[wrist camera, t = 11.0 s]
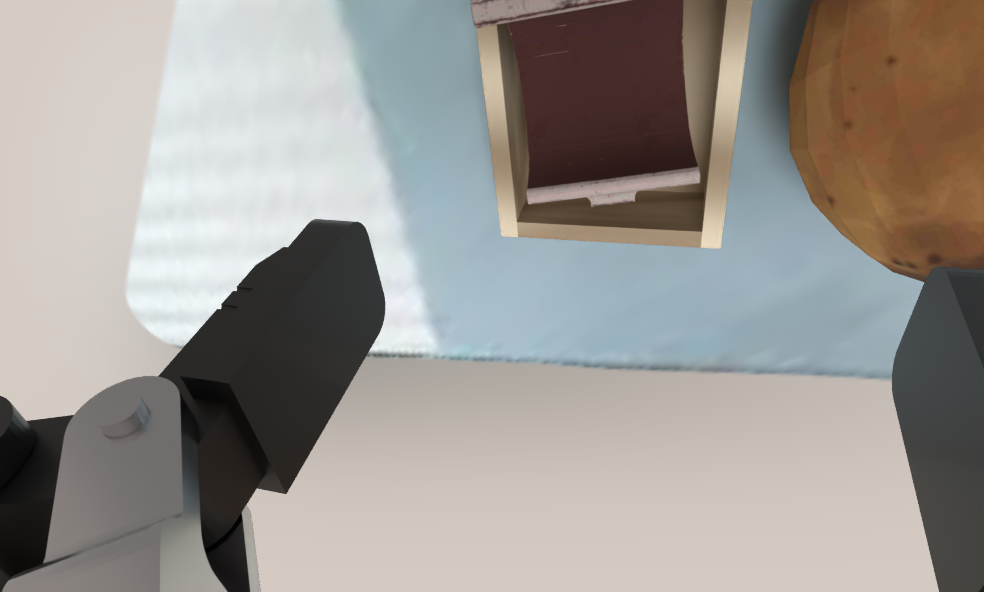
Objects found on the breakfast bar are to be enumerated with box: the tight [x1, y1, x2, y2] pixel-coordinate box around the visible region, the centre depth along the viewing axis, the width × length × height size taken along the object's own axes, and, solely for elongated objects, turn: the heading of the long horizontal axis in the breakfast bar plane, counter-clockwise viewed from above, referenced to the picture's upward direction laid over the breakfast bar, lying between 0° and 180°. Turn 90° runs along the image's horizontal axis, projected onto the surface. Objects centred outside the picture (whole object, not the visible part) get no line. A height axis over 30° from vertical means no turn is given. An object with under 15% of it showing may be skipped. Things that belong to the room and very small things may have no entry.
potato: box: [789, 0, 984, 282], centre depth 23 cm, size 8×14×8 cm
